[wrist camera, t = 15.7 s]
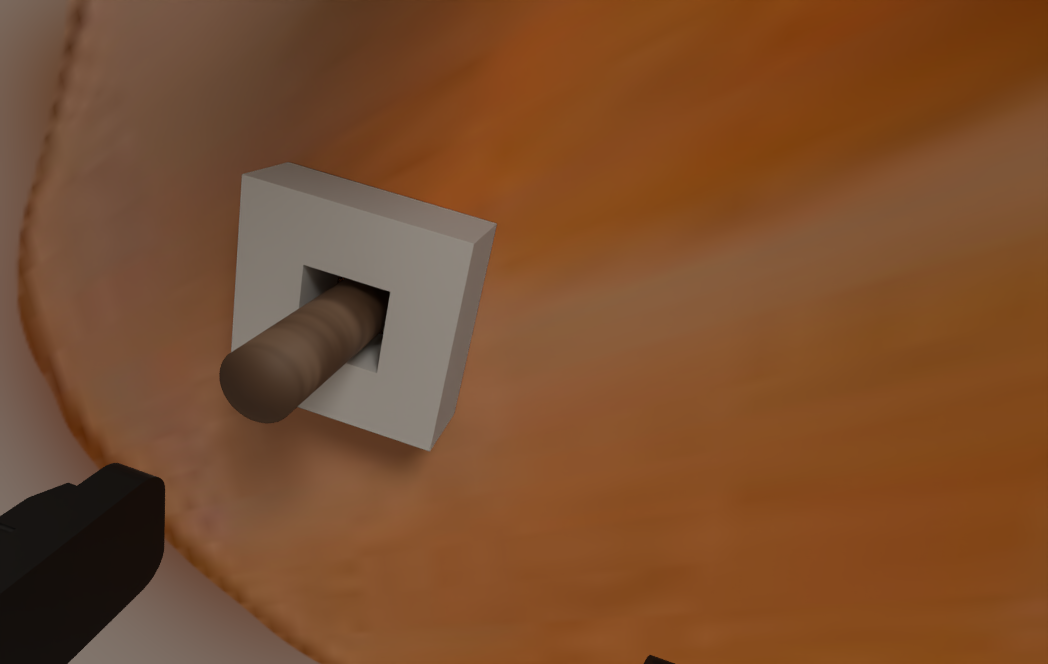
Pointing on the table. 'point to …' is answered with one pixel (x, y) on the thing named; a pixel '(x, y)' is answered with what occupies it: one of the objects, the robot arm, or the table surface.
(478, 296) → the block
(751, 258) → the table surface
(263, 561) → the table surface
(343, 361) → the walnut peg
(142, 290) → the table surface
